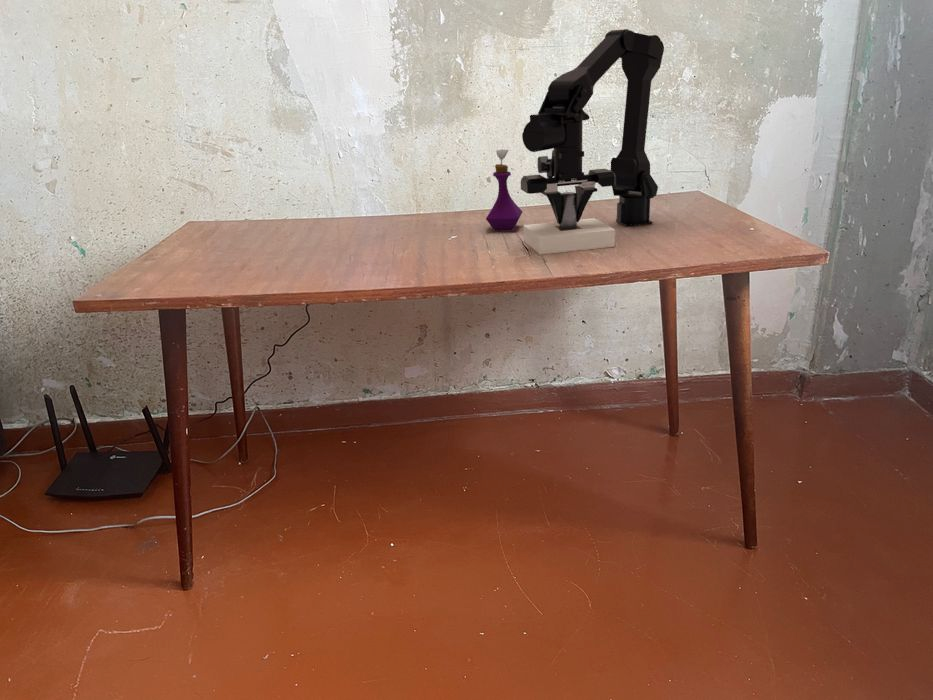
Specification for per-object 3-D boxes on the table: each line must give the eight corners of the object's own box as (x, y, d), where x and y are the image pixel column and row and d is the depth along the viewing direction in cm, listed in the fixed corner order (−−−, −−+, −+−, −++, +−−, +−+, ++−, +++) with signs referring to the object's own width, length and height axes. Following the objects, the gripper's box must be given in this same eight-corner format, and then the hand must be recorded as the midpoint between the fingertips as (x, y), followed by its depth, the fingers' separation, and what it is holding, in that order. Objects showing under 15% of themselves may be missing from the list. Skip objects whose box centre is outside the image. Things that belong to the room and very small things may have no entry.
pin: (573, 234, 151) (573, 191, 147) (579, 237, 147) (579, 194, 144) (557, 235, 150) (556, 193, 147) (562, 239, 147) (562, 196, 143)
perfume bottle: (518, 232, 161) (516, 151, 154) (486, 232, 163) (482, 152, 156) (522, 225, 168) (520, 147, 161) (491, 225, 169) (488, 148, 162)
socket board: (593, 233, 156) (594, 218, 155) (614, 246, 145) (615, 229, 144) (523, 241, 153) (523, 225, 152) (539, 254, 143) (539, 237, 141)
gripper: (597, 138, 150) (596, 211, 156) (512, 145, 147) (515, 219, 153) (617, 143, 140) (616, 221, 146) (527, 151, 137) (529, 230, 143)
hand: (568, 222), depth 148 cm, fingers closed on pin, 4 cm apart
